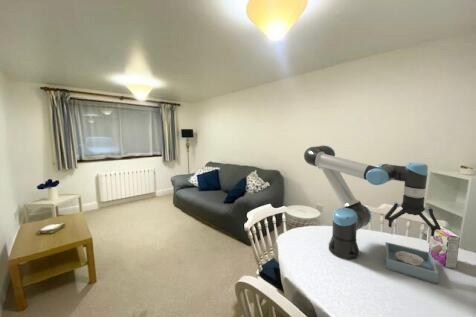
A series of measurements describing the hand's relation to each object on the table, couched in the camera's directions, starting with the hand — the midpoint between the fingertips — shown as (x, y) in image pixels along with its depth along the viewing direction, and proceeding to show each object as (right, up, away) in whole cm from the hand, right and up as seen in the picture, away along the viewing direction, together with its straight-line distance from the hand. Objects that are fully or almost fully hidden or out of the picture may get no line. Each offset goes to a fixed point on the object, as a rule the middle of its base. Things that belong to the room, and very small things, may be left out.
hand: (409, 237), depth 96 cm
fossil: (+1, -14, +2) cm, 14 cm away
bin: (+1, -14, +2) cm, 15 cm away
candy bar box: (+20, -14, +4) cm, 24 cm away
